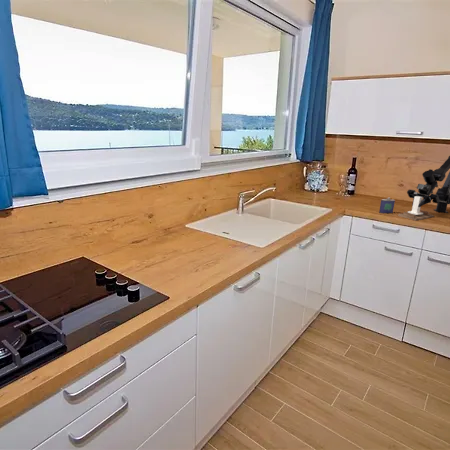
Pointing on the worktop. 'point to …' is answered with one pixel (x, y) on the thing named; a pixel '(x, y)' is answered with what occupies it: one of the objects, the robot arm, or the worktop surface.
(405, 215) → the rail board
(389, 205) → the flask
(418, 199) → the slider
